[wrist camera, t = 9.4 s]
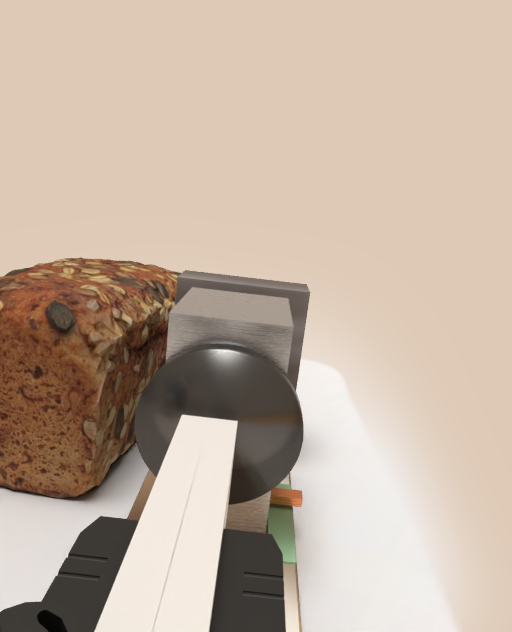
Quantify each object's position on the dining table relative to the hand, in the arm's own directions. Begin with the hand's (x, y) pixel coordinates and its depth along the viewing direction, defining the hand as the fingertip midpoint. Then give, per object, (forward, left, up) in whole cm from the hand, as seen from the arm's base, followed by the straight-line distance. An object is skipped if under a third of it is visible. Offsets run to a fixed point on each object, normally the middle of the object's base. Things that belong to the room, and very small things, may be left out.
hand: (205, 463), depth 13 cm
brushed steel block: (-1, +7, -6) cm, 9 cm away
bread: (-12, +15, -8) cm, 21 cm away
